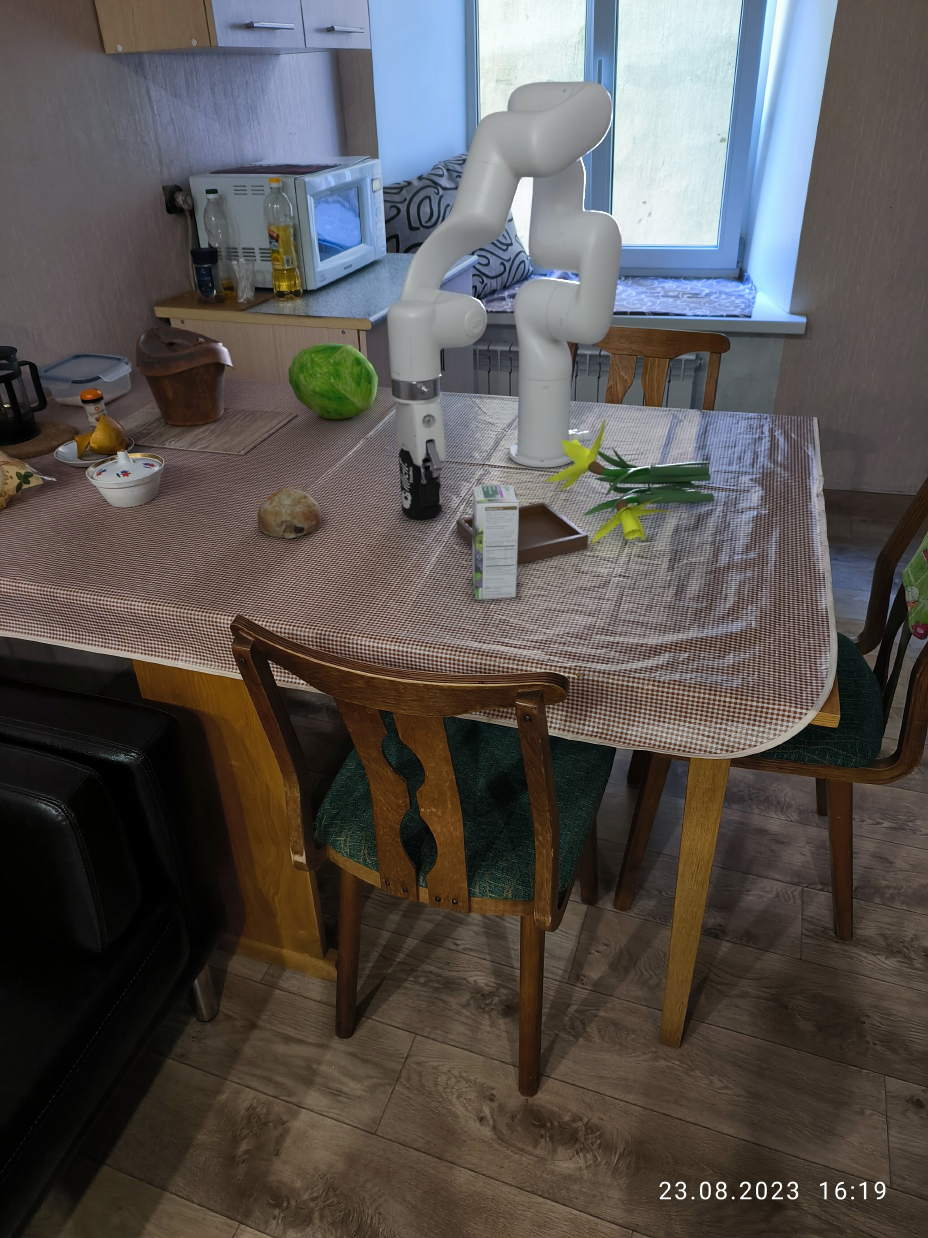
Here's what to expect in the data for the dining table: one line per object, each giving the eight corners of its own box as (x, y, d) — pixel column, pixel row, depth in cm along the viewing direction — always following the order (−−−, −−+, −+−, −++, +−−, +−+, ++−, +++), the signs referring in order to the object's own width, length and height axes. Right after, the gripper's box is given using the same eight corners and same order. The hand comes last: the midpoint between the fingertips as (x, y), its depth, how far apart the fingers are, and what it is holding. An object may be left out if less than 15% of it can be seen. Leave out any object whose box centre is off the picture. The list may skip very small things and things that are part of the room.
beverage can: (437, 523, 138) (434, 452, 132) (397, 520, 139) (393, 449, 133) (446, 506, 144) (443, 437, 137) (408, 504, 145) (404, 435, 138)
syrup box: (471, 580, 122) (470, 485, 114) (512, 578, 122) (514, 482, 115) (475, 600, 117) (474, 502, 109) (518, 598, 117) (520, 500, 110)
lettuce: (401, 405, 189) (367, 339, 190) (373, 385, 169) (334, 312, 170) (337, 444, 193) (303, 380, 193) (302, 429, 173) (264, 357, 174)
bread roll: (268, 560, 136) (268, 527, 129) (248, 514, 140) (247, 479, 134) (327, 546, 140) (330, 513, 133) (306, 501, 144) (308, 467, 138)
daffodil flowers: (752, 520, 139) (625, 532, 115) (676, 542, 149) (544, 557, 125) (729, 419, 139) (598, 410, 115) (655, 448, 150) (520, 445, 126)
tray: (544, 514, 140) (544, 501, 139) (587, 548, 130) (588, 534, 128) (456, 533, 135) (456, 519, 134) (494, 570, 124) (494, 556, 123)
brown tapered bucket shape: (230, 430, 178) (216, 342, 169) (135, 431, 178) (115, 343, 169) (250, 403, 193) (237, 321, 184) (162, 404, 194) (145, 322, 184)
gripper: (461, 399, 125) (464, 512, 134) (418, 369, 138) (423, 474, 148) (413, 406, 122) (419, 521, 132) (374, 376, 136) (381, 481, 145)
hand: (421, 495), depth 140 cm, fingers closed on beverage can, 6 cm apart
